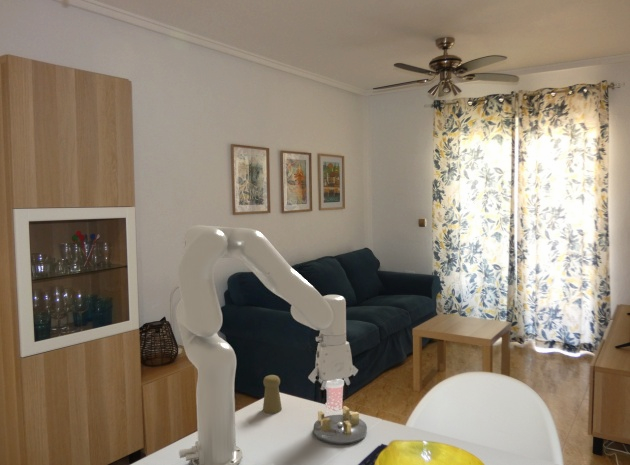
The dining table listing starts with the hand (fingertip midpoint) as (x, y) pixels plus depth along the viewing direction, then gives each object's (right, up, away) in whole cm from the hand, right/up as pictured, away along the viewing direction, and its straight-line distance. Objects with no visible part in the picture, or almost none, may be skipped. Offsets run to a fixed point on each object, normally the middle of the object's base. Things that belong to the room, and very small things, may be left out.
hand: (333, 398), depth 147 cm
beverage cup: (0, -4, 0) cm, 4 cm away
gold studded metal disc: (+2, -8, -3) cm, 9 cm away
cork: (-19, -8, +12) cm, 24 cm away
